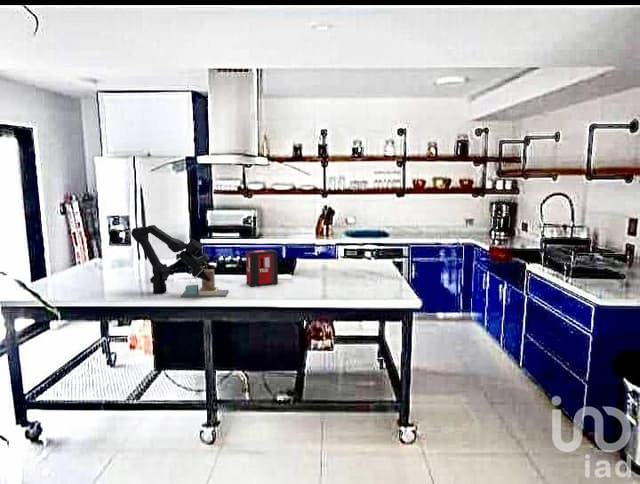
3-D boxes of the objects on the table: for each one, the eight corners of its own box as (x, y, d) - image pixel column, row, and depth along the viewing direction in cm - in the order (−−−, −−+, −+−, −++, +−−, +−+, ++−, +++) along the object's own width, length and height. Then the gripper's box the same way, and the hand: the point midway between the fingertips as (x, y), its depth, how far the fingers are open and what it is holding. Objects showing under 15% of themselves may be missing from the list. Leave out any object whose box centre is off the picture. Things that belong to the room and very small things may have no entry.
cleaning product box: (272, 281, 314) (272, 249, 312) (277, 284, 307) (277, 251, 304) (246, 284, 307) (245, 251, 305) (251, 287, 300) (250, 253, 297)
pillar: (202, 294, 279) (201, 271, 277) (203, 291, 285) (203, 269, 283) (213, 294, 280) (213, 271, 278) (214, 291, 285) (214, 269, 284)
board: (181, 297, 276) (180, 288, 275) (185, 292, 288) (184, 283, 287) (226, 296, 278) (226, 287, 277) (228, 291, 290) (228, 282, 289)
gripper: (197, 252, 269) (219, 272, 272) (202, 246, 288) (223, 265, 290) (182, 267, 270) (204, 287, 272) (188, 260, 288) (209, 279, 291)
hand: (210, 279), depth 281 cm, fingers open, 7 cm apart
